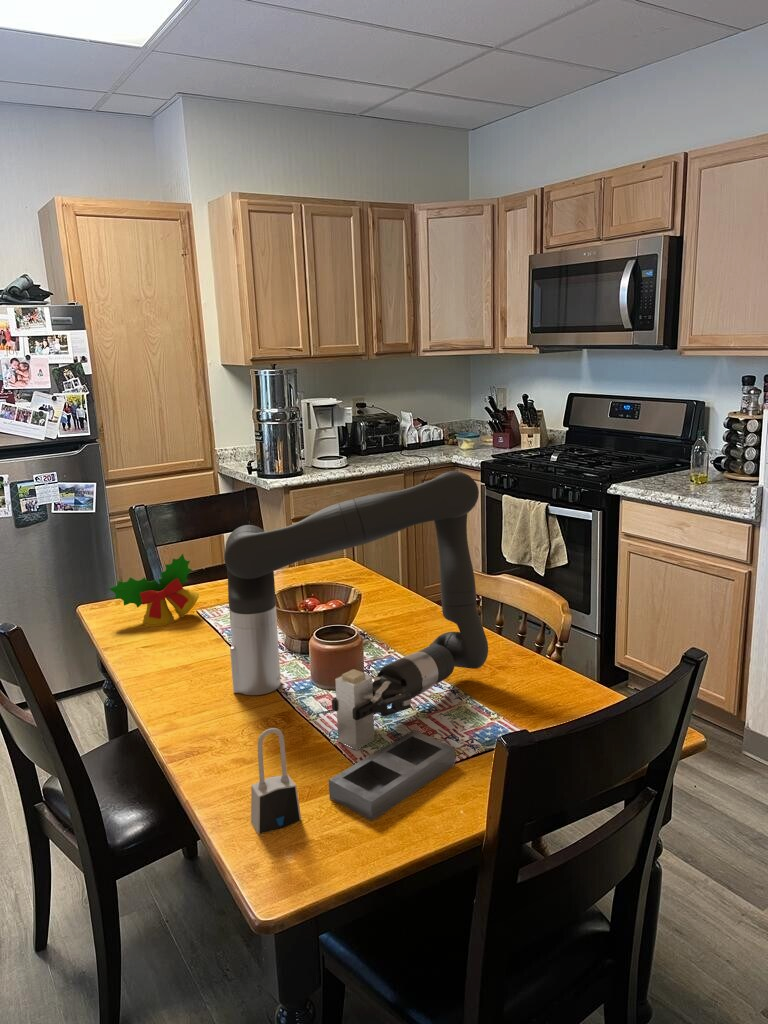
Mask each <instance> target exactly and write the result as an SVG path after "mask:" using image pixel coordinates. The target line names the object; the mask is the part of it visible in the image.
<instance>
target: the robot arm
mask: <svg viewBox="0 0 768 1024" xmlns="http://www.w3.org/2000/svg"><path fill="white" fill-rule="evenodd" d="M479 493H480V491H479V487H478V484H477V481H475V480H474V478H472V477H471V475H469V474H467V473H465V472H463V471H459V470H451V471H447V472H444V473H441V474H439V475H437V476H436V477H434V478H433V479H430V480H428V481H425V482H421V483H419V484H417V485H414V486H411V487H408V488H404V489H400V490H394V491H387V492H386V491H385V492H380V493H373V494H369V495H364V496H363V495H362V496H359V497H355V498H351V499H347V500H344V501H341V502H337V503H334V504H331V505H328V506H326V507H324V508H322V509H320V510H318V511H315V512H314V513H312V514H311V515H308V516H307V517H305V518H302V519H301V520H300V521H298V522H294V523H293V524H290V525H288V526H284V527H280V528H276V529H272V530H271V529H270V530H267V531H265V530H264V529H263V528H261V527H259V526H257V525H252V524H245V525H244V524H243V525H241V526H239V527H237V528H235V529H234V530H233V531H231V532H230V534H229V536H228V537H227V539H226V542H225V545H224V546H225V547H224V553H223V556H224V557H223V559H224V564H225V568H226V572H227V592H228V593H227V594H228V595H227V596H228V597H227V598H228V609H229V622H230V633H231V635H230V636H231V646H230V649H229V650H230V661H231V662H230V664H231V679H232V686H233V687H232V688H233V689H232V690H233V693H234V694H235V693H237V694H242V695H244V696H245V695H247V696H259V695H261V696H262V695H266V694H270V693H272V692H274V691H276V690H277V689H279V687H280V686H281V684H282V683H281V669H280V667H281V666H280V653H279V652H280V651H279V649H280V648H279V635H278V620H277V619H278V618H277V605H276V601H277V600H276V585H275V571H277V570H279V569H283V568H285V567H287V566H289V565H293V564H295V563H298V562H300V561H301V562H302V561H304V560H308V559H312V558H317V557H321V556H325V555H328V554H333V553H336V552H340V551H343V550H348V549H352V548H355V547H359V546H362V545H365V544H368V543H372V542H374V541H377V540H380V539H383V538H386V537H387V536H391V535H393V534H396V533H398V532H401V531H403V530H405V529H407V528H410V527H414V526H416V525H419V524H424V523H428V522H432V521H433V522H434V526H435V527H434V528H435V532H436V539H437V547H438V559H439V580H440V595H441V597H440V598H441V599H440V600H441V611H442V616H443V617H444V619H446V620H447V621H449V622H451V623H454V624H455V625H456V626H457V628H458V630H459V631H448V632H444V633H442V634H439V636H437V637H436V638H435V639H434V640H433V641H432V642H431V643H430V644H429V645H428V646H427V647H424V648H423V649H420V650H417V651H416V652H412V653H409V654H407V655H405V656H403V657H401V658H398V659H397V660H395V661H392V662H390V663H388V664H386V665H384V666H382V668H381V669H380V671H379V672H378V674H377V675H376V676H371V677H372V685H373V698H372V699H371V700H370V701H366V702H364V703H362V704H360V705H358V706H356V707H354V708H353V719H354V720H359V719H362V718H364V717H366V716H368V715H370V714H374V715H377V714H378V713H380V715H381V717H387V716H390V715H393V714H397V713H399V712H402V711H406V710H410V709H411V708H412V700H413V699H414V698H416V697H418V696H420V695H421V694H424V693H425V692H427V691H429V690H430V689H431V688H432V687H433V686H435V685H437V684H439V683H441V682H443V681H444V680H446V679H448V678H449V677H450V676H452V673H453V672H454V669H455V667H456V668H464V669H471V670H472V669H479V668H481V667H482V666H483V665H484V664H485V663H486V661H487V659H488V656H489V655H488V654H489V643H488V639H487V636H486V632H485V630H484V629H485V628H484V626H483V623H482V621H481V618H480V615H479V612H478V605H477V590H476V589H477V587H476V579H475V578H476V577H475V573H474V568H473V564H472V558H471V555H470V553H471V552H470V548H469V544H468V543H469V542H468V527H467V526H468V525H467V524H468V514H469V513H470V512H471V511H472V510H473V509H474V507H475V506H476V505H477V502H478V499H479ZM390 705H391V707H390V708H388V706H390ZM331 709H332V711H334V712H337V700H336V696H334V697H333V698H332V699H331Z"/></svg>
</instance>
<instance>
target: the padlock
mask: <svg viewBox="0 0 768 1024" xmlns="http://www.w3.org/2000/svg"><path fill="white" fill-rule="evenodd" d="M270 734H276V735H277V736H278V741H279V749H280V762H281V763H280V764H281V775H276V776H270V777H267V778H265V770H264V752H263V751H264V750H263V748H264V747H263V744H264V739H265V738H266V737H267V736H268V735H270ZM257 759H258V760H257V762H258V775H259V781H258V782H256V783H253V784H252V785H251V794H250V796H251V798H250V801H251V803H250V805H251V806H250V808H251V809H250V810H251V811H250V813H251V814H250V823H251V824H252V826H253V828H254V829H255V831H256V833H257V835H259V834H264V833H268V832H273V831H278V830H281V829H284V828H286V827H289V826H291V825H293V824H296V823H299V822H300V821H302V816H301V809H300V808H301V807H300V801H299V800H300V799H299V793H298V787H297V785H296V784H295V781H293V779H292V778H291V777H290V775H289V774H288V773H287V772H288V771H287V758H286V745H285V737H284V733H283V731H281V729H279V728H276V727H270V728H267V729H265V730H264V731H263V732H261V734H260V735H259V736H258V740H257Z"/></svg>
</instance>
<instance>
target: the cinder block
mask: <svg viewBox="0 0 768 1024" xmlns="http://www.w3.org/2000/svg"><path fill="white" fill-rule="evenodd" d="M453 765H454V766H455V765H456V747H455V746H454V745H450V744H448V743H446V742H443V741H442V740H439V739H436V738H434V737H432V736H429V735H427V734H424V733H422V732H419V731H417V730H415V729H412V730H411V731H409V732H407V733H405V734H404V735H402V736H401V737H398V738H397V739H395V740H393V741H392V742H390V743H388V744H386V745H385V746H383V747H382V748H380V749H378V750H377V751H375V752H372V753H371V754H370V755H368V756H367V757H365V758H363V759H362V760H359V761H358V762H355V764H353V765H351V766H349V767H348V768H346V769H344V770H343V771H341V772H340V773H338V774H336V775H334V776H332V777H331V778H329V779H328V792H329V799H331V801H334V802H336V803H338V804H339V805H341V806H343V807H345V808H347V809H349V810H351V811H352V812H354V813H356V814H357V815H359V816H362V817H363V818H365V819H367V820H369V821H370V822H373V821H374V820H376V819H377V818H379V817H380V816H382V815H383V814H385V813H386V812H388V811H389V810H391V809H392V808H394V807H395V806H397V805H398V804H400V803H401V802H403V801H404V800H405V799H407V798H408V797H410V796H412V795H413V794H414V793H416V792H417V791H419V790H420V789H421V788H423V787H425V786H426V785H427V784H428V783H431V782H432V781H433V780H435V779H436V778H438V777H439V776H440V775H443V774H444V773H445V772H447V771H449V770H450V769H451V768H452V766H453ZM454 766H453V767H454ZM446 770H447V771H446Z"/></svg>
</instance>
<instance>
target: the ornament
mask: <svg viewBox="0 0 768 1024" xmlns="http://www.w3.org/2000/svg"><path fill="white" fill-rule="evenodd" d="M190 562H191V561H190V560H186V559H185V555H184V553H182V554H181V555H180V556H179V557H178V558H172V561H171V563H170V564H169V563H168V564H167V563H165V564H164V565H165V570H164V571H160V572H159V574H160V575H161V578H158V579H157V580H158V582H157V580H156V579H153V580H151V581H149V580H148V579H146V577H145V576H144V577H142V579H140V580H137V579H135V578H133V577H129V578H128V580H126V581H122V580H117V581H118V582H117V585H115V586H111V587H108V590H110V591H112V592H113V593H114V600H116V599H117V600H118V599H119V600H120V599H121V600H122V601H123V606H127V605H129V604H134V605H136V607H137V608H139V607H140V606H141V605H146V611H145V614H144V616H143V619H142V624H143V626H145V627H150V628H153V627H155V628H156V627H157V628H158V627H163V626H167V625H169V624H171V623H173V622H174V621H175V616H174V614H173V612H172V611H171V610H170V609H169V606H168V604H167V602H168V603H170V605H171V606H172V607H173V609H174V611H175V613H176V614H177V616H178V617H179V618H183V617H185V616H187V614H188V613H189V612H190V611H191V610H192V609H193V607H194V606H195V605H196V603H197V601H198V599H199V596H200V593H199V592H198V591H193V590H187V589H185V588H184V587H183V584H185V583H188V582H189V580H188V578H187V576H188V575H189V574H190V573H191V572H192V571H193V569H191V568H189V564H190Z"/></svg>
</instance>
